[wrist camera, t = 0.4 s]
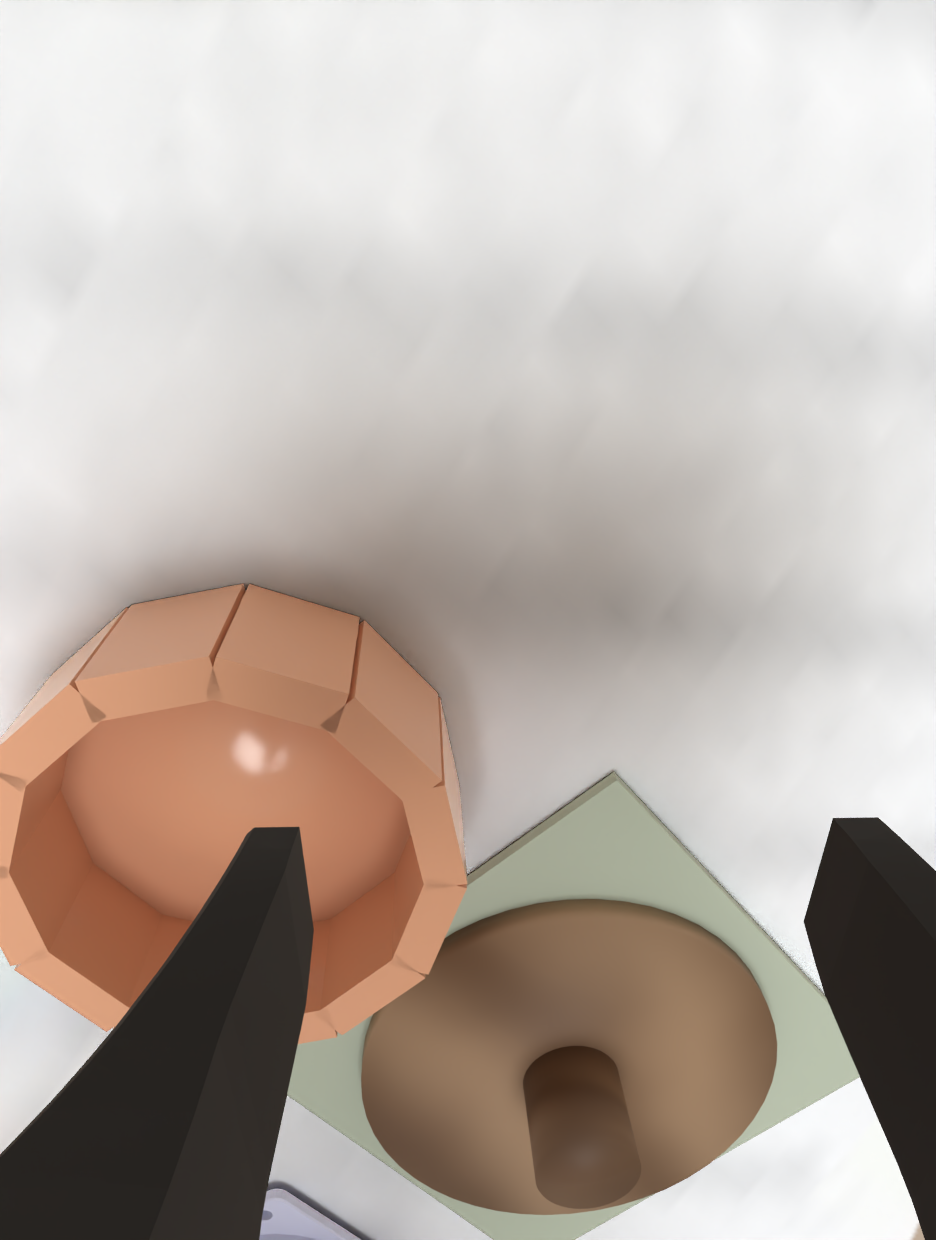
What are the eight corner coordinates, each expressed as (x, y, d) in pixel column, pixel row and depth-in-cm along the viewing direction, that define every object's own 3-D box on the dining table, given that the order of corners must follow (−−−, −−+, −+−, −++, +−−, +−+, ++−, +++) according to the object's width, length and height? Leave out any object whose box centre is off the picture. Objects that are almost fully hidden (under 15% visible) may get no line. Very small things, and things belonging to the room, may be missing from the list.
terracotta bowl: (253, 993, 27) (228, 1113, 23) (-52, 767, 23) (-138, 867, 20) (534, 789, 25) (556, 888, 21) (245, 500, 21) (209, 559, 17)
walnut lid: (534, 1240, 32) (549, 1363, 29) (275, 1055, 28) (256, 1174, 24) (842, 1061, 29) (900, 1173, 26) (608, 822, 25) (641, 920, 21)
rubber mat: (528, 1253, 33) (529, 1265, 33) (231, 1043, 28) (229, 1054, 28) (878, 1052, 30) (883, 1062, 29) (614, 771, 25) (616, 780, 24)
